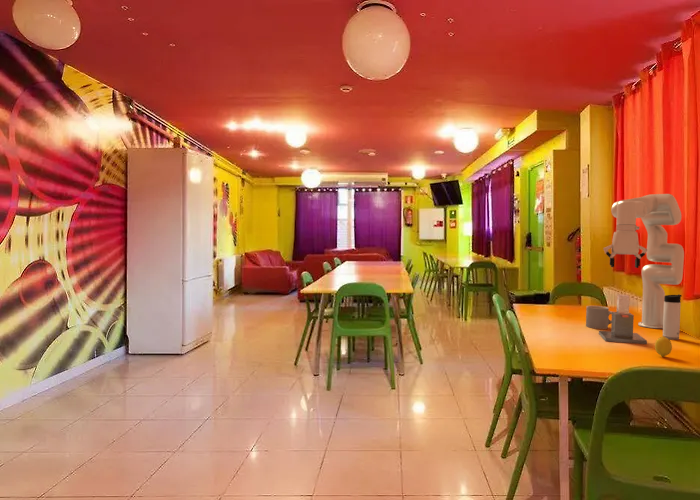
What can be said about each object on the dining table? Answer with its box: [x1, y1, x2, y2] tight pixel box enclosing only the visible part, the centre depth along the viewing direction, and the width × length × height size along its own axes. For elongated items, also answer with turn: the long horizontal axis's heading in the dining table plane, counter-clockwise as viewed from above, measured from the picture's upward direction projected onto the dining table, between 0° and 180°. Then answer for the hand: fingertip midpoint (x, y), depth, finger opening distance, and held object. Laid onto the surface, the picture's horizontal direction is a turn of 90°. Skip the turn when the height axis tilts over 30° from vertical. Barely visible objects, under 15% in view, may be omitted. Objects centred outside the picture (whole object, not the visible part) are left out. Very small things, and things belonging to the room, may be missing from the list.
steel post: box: [616, 294, 630, 315], centre depth 221 cm, size 4×4×18 cm
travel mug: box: [662, 294, 683, 341], centre depth 223 cm, size 6×7×20 cm
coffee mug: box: [585, 305, 613, 330], centre depth 247 cm, size 13×10×10 cm
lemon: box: [654, 335, 673, 358], centre depth 190 cm, size 6×6×8 cm
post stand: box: [598, 311, 648, 345], centre depth 221 cm, size 16×16×12 cm
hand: (624, 267), depth 220 cm, fingers open, 9 cm apart
